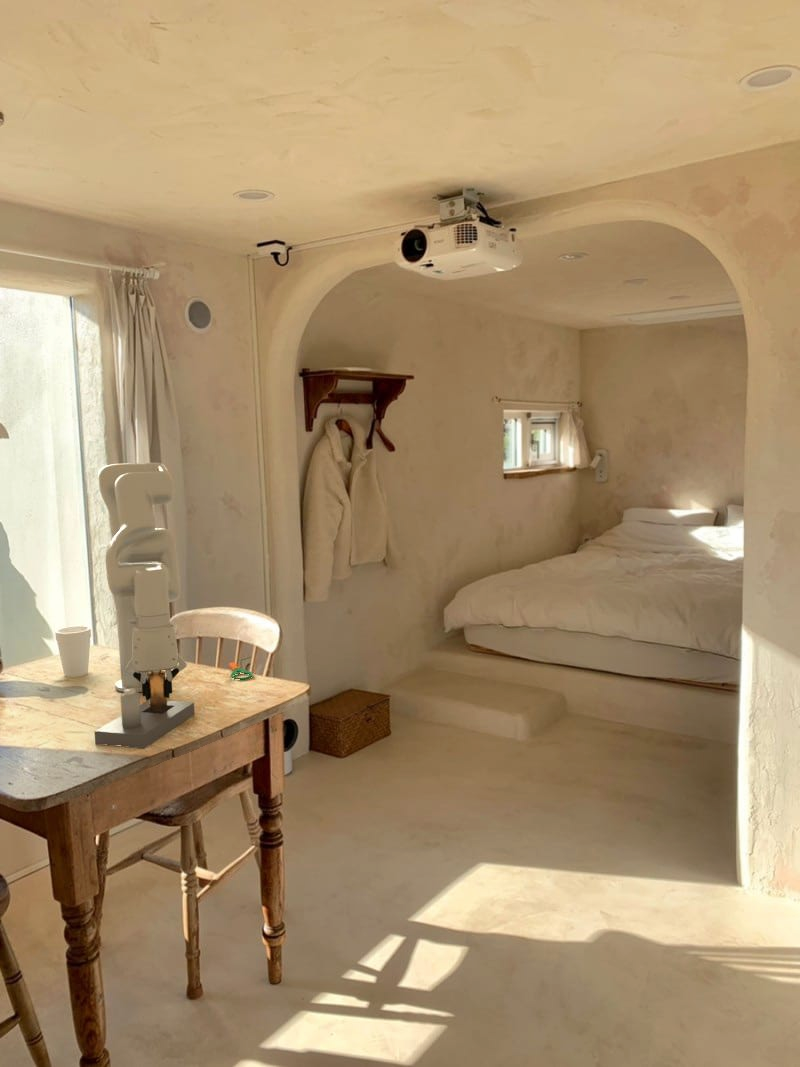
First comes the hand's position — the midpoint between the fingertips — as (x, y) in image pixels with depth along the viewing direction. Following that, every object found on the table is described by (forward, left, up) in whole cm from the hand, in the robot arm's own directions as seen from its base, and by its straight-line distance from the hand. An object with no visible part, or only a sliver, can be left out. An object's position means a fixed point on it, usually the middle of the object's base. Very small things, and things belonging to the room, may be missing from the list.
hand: (157, 696), depth 191 cm
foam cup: (-31, -45, -6) cm, 55 cm away
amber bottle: (0, 0, -3) cm, 3 cm away
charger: (+5, 0, -6) cm, 8 cm away
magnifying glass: (-40, +1, -7) cm, 41 cm away
